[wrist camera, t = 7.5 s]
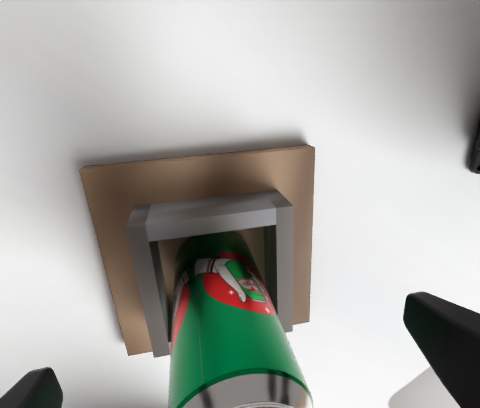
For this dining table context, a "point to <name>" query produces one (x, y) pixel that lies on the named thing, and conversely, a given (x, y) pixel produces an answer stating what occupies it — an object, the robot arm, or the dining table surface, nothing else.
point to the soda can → (228, 332)
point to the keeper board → (201, 229)
